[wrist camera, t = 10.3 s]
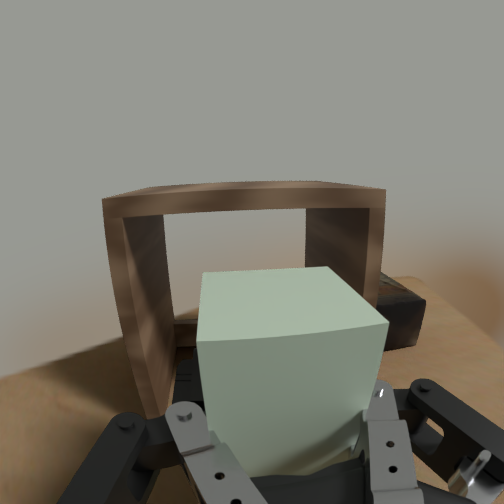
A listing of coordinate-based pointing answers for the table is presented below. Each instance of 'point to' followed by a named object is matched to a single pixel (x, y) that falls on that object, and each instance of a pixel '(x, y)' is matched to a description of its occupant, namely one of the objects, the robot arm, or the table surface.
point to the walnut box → (225, 199)
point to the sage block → (286, 366)
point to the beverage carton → (399, 313)
